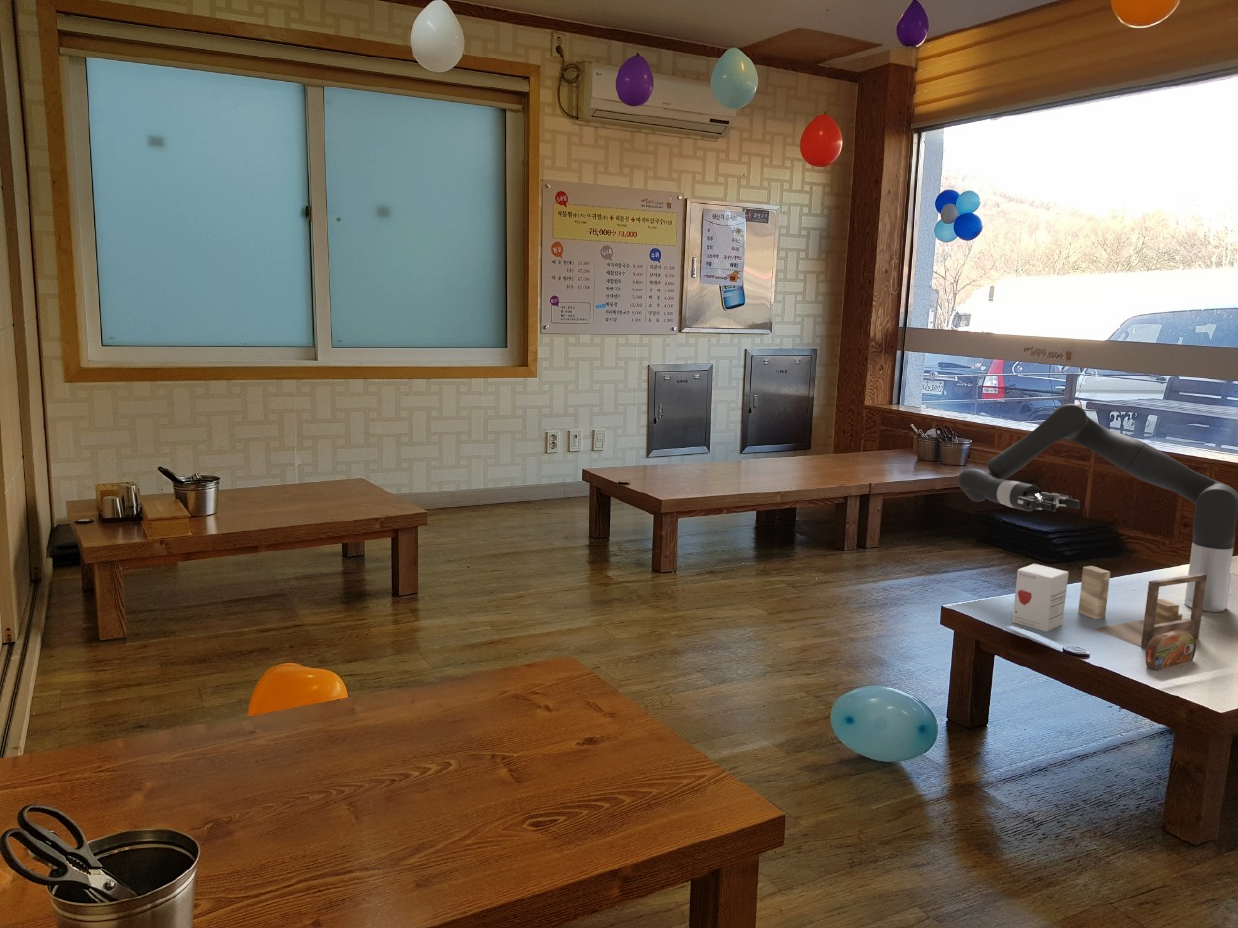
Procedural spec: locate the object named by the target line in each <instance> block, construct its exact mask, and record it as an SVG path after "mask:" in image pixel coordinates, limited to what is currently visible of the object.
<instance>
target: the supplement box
mask: <svg viewBox="0 0 1238 928" xmlns="http://www.w3.org/2000/svg"><path fill="white" fill-rule="evenodd" d="M1068 580H1069V571H1066V570H1062V569H1058V568H1055V567H1051V566H1046V565H1041V564H1037V563H1032V564H1029V565H1027V566H1024V567H1021V568H1019V569H1017V573H1016V581H1015V593H1014V601H1013V602H1014V604H1013V611H1012V612H1013V613H1012V620H1011V621H1012V623H1011V626H1012V627H1014V628H1018V629H1021V630H1025V631H1028V632H1032V633H1036V632H1035V631H1032V630H1029V629H1027V628H1024V627H1023V626H1025V627H1028V628H1032V629H1036V630H1038V631H1039V630H1040V631H1042V632H1049V631H1052V630H1054V629H1056V628H1058V627H1060V626H1062V625H1063V622H1064V614H1065V613H1064V612H1065V604H1066V597H1067V596H1066V595H1067V587H1068ZM1021 625H1022V626H1021Z"/></svg>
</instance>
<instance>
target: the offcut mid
mask: <svg viewBox="0 0 1238 928" xmlns="http://www.w3.org/2000/svg"><path fill="white" fill-rule="evenodd" d="M1179 620H1183V614H1182V613H1180V612H1178V615H1170V616H1166V615H1164V614H1161V613H1158V612H1156V617H1155V622H1158V623H1167V622H1173V621H1179Z"/></svg>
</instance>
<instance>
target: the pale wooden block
mask: <svg viewBox="0 0 1238 928" xmlns="http://www.w3.org/2000/svg"><path fill="white" fill-rule="evenodd" d="M1081 575H1082V576H1081V585H1080V593H1079V601H1078V609H1077V610H1078V611H1077V613H1079V614H1081V615H1084V616H1086V617H1089V618H1092V619H1094V620H1100V619H1106V612H1107V604H1108V596H1109V586H1110V579H1111V578H1110V577H1111V571H1109V570H1106V569H1103V568H1100V567H1097V566H1094V565H1088V566H1083V567H1082V574H1081Z"/></svg>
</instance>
